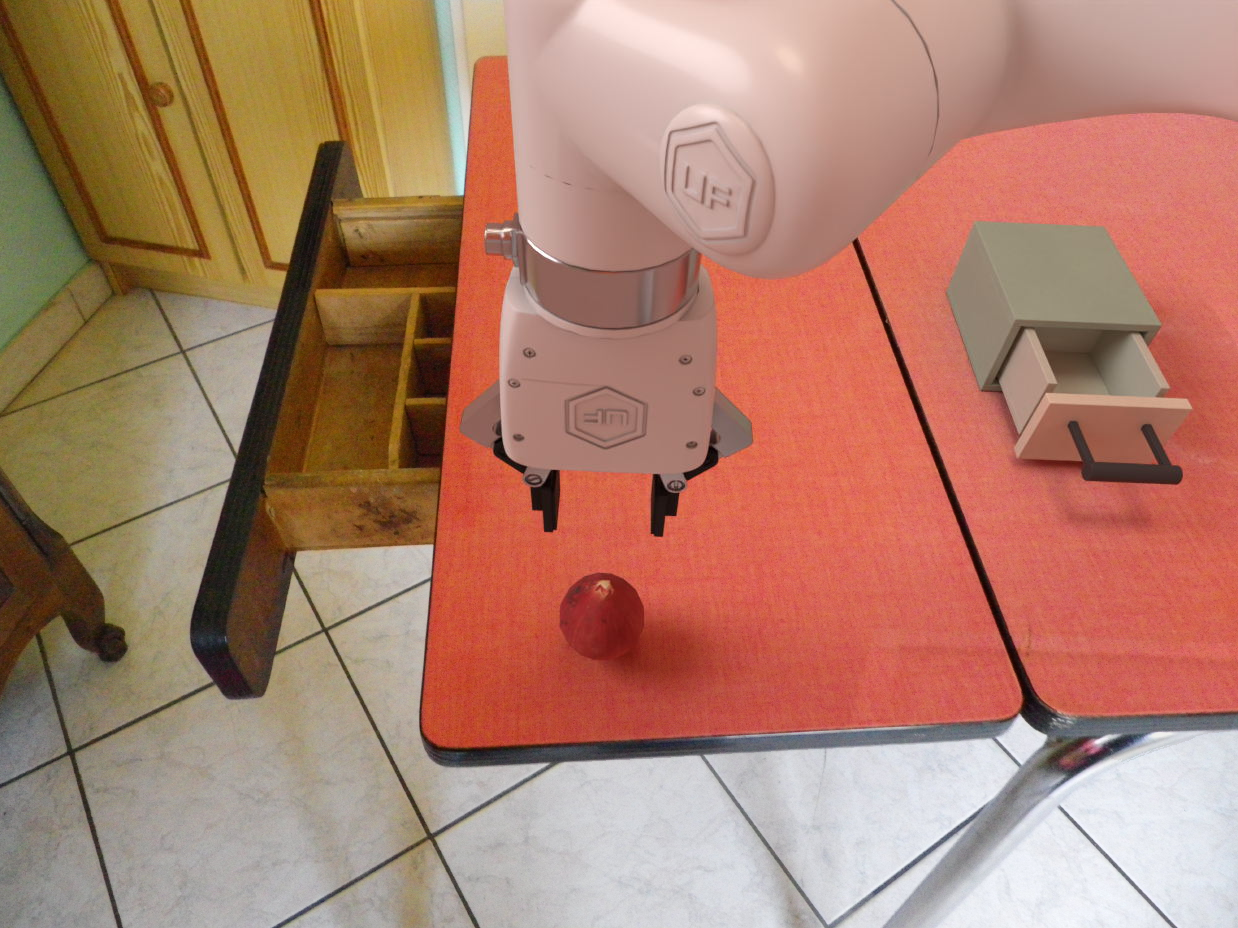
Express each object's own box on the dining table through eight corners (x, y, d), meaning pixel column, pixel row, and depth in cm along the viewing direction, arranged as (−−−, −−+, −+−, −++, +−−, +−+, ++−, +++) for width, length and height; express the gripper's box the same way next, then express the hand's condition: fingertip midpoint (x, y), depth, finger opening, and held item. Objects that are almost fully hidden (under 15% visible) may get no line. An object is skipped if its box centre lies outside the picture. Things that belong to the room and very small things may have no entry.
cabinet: (1115, 396, 79) (1162, 325, 72) (980, 390, 79) (1015, 319, 72) (1066, 297, 88) (1104, 226, 82) (945, 292, 88) (974, 220, 82)
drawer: (1177, 519, 69) (1225, 465, 63) (1036, 513, 69) (1073, 458, 63) (1097, 357, 81) (1132, 300, 76) (978, 352, 81) (1005, 295, 76)
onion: (547, 661, 60) (542, 602, 54) (580, 596, 63) (580, 534, 57) (623, 692, 59) (627, 635, 52) (653, 624, 62) (660, 563, 56)
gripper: (388, 303, 33) (446, 562, 47) (827, 321, 33) (756, 575, 47) (422, 196, 38) (466, 459, 52) (805, 212, 38) (747, 471, 52)
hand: (604, 512), depth 49 cm, fingers open, 5 cm apart
